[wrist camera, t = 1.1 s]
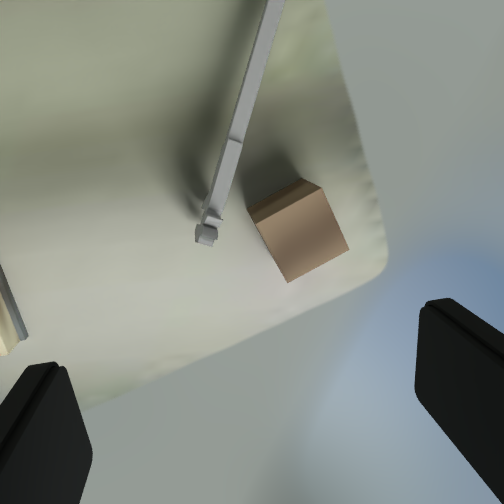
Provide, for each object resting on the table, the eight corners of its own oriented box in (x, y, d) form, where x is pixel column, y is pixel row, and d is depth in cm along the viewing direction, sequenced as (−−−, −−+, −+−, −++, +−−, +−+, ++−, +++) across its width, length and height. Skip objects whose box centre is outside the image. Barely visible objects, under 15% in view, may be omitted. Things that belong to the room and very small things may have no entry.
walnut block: (246, 208, 29) (255, 224, 24) (301, 178, 29) (321, 187, 24) (273, 259, 31) (287, 283, 26) (326, 231, 31) (349, 249, 26)
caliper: (207, 232, 29) (211, 261, 23) (194, 228, 29) (194, 256, 23) (302, -63, 23) (338, -125, 17) (286, -72, 23) (318, -137, 17)
